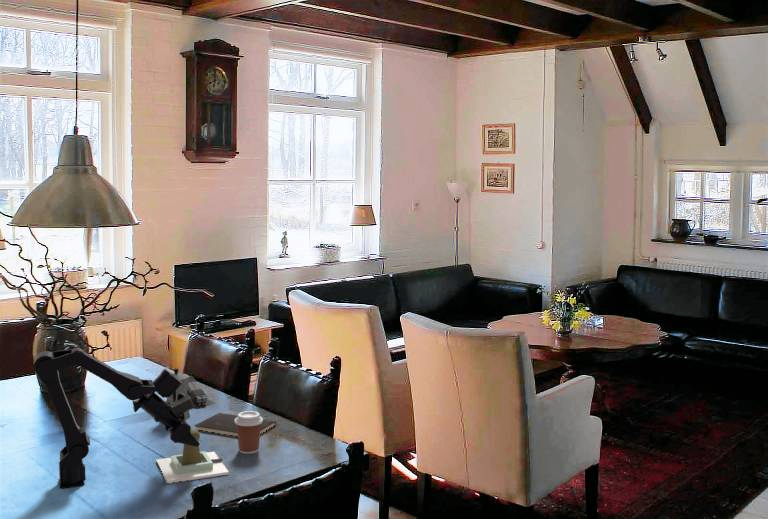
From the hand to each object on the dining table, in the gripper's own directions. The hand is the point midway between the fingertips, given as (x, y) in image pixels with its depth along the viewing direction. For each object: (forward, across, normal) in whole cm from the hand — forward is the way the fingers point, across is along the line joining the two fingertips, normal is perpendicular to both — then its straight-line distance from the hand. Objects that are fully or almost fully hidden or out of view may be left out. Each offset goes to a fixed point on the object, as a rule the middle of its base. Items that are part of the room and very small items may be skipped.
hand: (196, 440), depth 245 cm
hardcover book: (+20, +32, -7) cm, 38 cm away
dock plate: (+5, 0, +7) cm, 9 cm away
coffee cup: (+19, +9, -7) cm, 22 cm away
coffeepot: (+7, +49, +6) cm, 50 cm away
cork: (+5, 0, +7) cm, 8 cm away
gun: (+14, +71, -1) cm, 72 cm away
